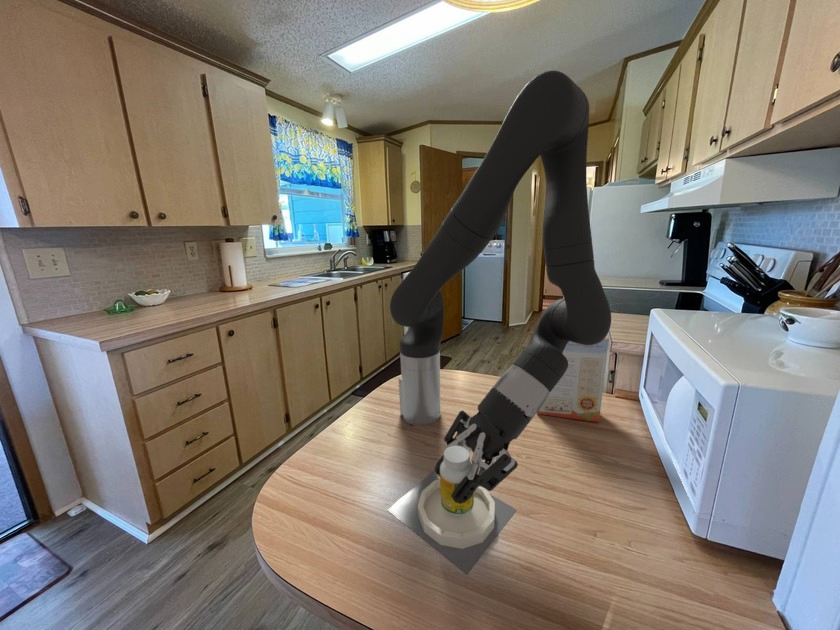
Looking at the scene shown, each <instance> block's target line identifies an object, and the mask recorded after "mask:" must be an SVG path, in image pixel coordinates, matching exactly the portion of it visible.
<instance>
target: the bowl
mask: <svg viewBox="0 0 840 630" xmlns="http://www.w3.org/2000/svg"><path fill="white" fill-rule="evenodd" d="M490 494H491V493H489V491H488V490H486V489H485V488H483V487H481V486H479V487H477V489H476V490H475V491H474V505H473V509H472V510H471V512H470V513H468V514H467V515H465V516H460V517H458V516H452V515H450V514H448V513H446V512H445V511H444V509H443V508H442V506H441V493H440V479H438V480H434V481H433V482H432V483H431V484H430V485H429V486H427V487H426V488H425V489H424V490H423V491H422V493H421V497H420V500H419V504H418V516H419V519H420V522H421V525H422V527H423V530H424V532H425V533H426V534H427V535H429V536H430V537H431V538H432V539H434V540H435V541H436V542H438V543H439V544H440V545H444V546H449V547H455V548H460V549H464V548H467V547H470V546H473V545H476V544H479V543H482V542H483V541H484V540H485V539H486V537H487V536H488V535H489V534H490V532H491V531H492V530H493V529H494V512H495V502H494V500H493V499H492V497H491V496H490Z"/></svg>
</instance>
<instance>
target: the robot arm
mask: <svg viewBox="0 0 840 630" xmlns="http://www.w3.org/2000/svg"><path fill="white" fill-rule="evenodd" d="M589 124H590V104H589V99H588V96H587V95H586V93H585V92H584V91H583V89H582V88H581V87H579V86H578V85H577V84H576V83H575V82H574V80H572V78H571V77H569V76H568V75H567V74H565V73H564V72H561V71H559V70H548V71H544V72H542V73H540V74H538V75H536V76H534V77H533V78H532V79H531V80H530V81H528V83H526V84H525V86H523V88H522V89H521V91H520V92H519V93H518V94H517V96H516V98H515V99H514V101H513V103H512V105H511V106H510V108H509V110H508V112H507V114H506V115H505V118H504V120H503V122H502V124H501V126H500V128H499V129H498V130H497V131H498V132H497V133H496V136H495V137H494V139H493V141H492V143H491V145H490V147H489V149H488V150H487V153H486V154H485V156H484V158H483V159H482V161H481V162H480V164H479V166H478V167H477V169H476V170H475V172H474V174H473V175H472V176H471V178H470V180H469V181H468V183H467V185H466V186H465V188H464V190H463V191H462V193H461V194H460V196H459V197H458V199H457V200H456V202H454V204H453V206H452V207H451V209H450V210H449V211H448V213H447V214H446V216H445V218H444V219H443V221H442V223H441V225H440V227H439V228H438V229H437V232H436V233H435V234H434V236H433V237H432V239H431V241H430V242H429V243H428V245H427V247H426V248H425V249H424V251H423V253H422V255H421V256H420V258H419V259H418V261H417V262H416V264H414V266H413V267H412V269H410V271H409V273H408V274H407V275H406V276H405V278H404V279H403V280H402V281H401V282H400V283H399V284H398V286H397V287H396V288H395V290H394V291H393V293H392V295H391V299H390V302H389V310H390V315H391V317H392V319H393V321H394V322H395V323H396V324H398V325H399V326H402V327H405V328H406V327H407V328H408V330H407V331H406V333H405V334H404V335H403V336H402V337H401V339H400V341H399V355H400V358H399V359H400V374H401V376H400V377H401V378H399V379H398V392H399V394H398V395H399V412H400V413H399V414H400V415H401V416H402V418H403V420H404V421H405V422H406V423H407V424H409V425H412V426H415V425H416V426H417V425H419V426H425V425H431V424H433V423H435V422H437V420H439V418H441V354H440V353H441V351H440V349H441V348H440V347H441V342H442V341H443V337H444V322H445V321H444V318H445V305H444V303H445V301H444V297H443V293H442V291H441V289H442V288H443V286H444V285H446V284H447V283H448V282H449V281H451V280H452V279H453V278H454V277H456V276H457V275H458V274H459V273H461V272H462V271H463V270H464V269H465V268H466V269H467V267H468V266H469V265H471V264H472V262H474V261H475V260H476V259H477V257H479V256H480V255H481V254H482V253H483V251H484V250H485V249H486V247H487V246H488V244H489V243H491V241H492V240H493V238H494V237H495V235H496V234H497V233H498V231H499V230H500V228H501V226H502V224H503V222H504V221H505V219H506V215H507V212H508V209H509V206H510V202H511V200H512V198H513V195H514V193H515V190H516V188H517V186H518V185H519V183H520V181H521V180H522V178H523V177H524V175H525V174H526V173H527V172H528V170H529V169H530V168H531V167H532V165H533V164H534V163H535V161H536V160H537V159H538V158H539V157H540V159H541V162H542V166H543V172H544V179H545V201H544V210H543V211H544V212H543V220H542V245H543V247H542V248H543V255H544V262H545V263H544V264H545V270H546V276H547V279H548V281H549V283H551V284H552V285H554V286H556V287H558V288H559V289H560V291H561V292H562V296H563V297H562V298H559V299H556V300H555V301H554V302H552V303H551V304H550V305H548V306H547V308H546V309H545V310H544V311H543V313H542V314H541V315H540V318H539V319H538V321H537V324H536V326H535V327H534V330H533V332H532V335H531V337H530V340H529V342H528V344H527V346H526V347H525V348H524V349H523V350H522V352H521V353H520V355H518V357H516V359H515V361H514V362H513V363H512V365H510V367H509V368H508V369H507V370H506V371H505V372H503V373H502V375H501V376H500V377H499V378H498V380H496V382H495V383H494V385H493V386H492V387H491V388H490V390H489V391H488V392H487V394H486V395H485V396H484V397H483V398H482V400H481V401H480V403H479V404H478V406H477V410H478V412H477V413H476V414H474V415H470V414H468V413H467V412H465V411H464V410H460V411H459V412H458V414H457V415H456V416H455V419H454V421H453V423H452V424H451V426H450V428H449V430H448V431H447V432H446V434H445V436H444V438H443V441H444V442H445V443H446V449H447V448H448V447H451V446H461V447H464V448H466V449H467V450H468V451H469V453H470V452H472V457H471V458H470V462H471V463H472V465H471V468H470V471H469V473H468V477H466V476H465V477H464V479H463V480H462V481H461V482H460V484H459V485H458V486H457V488H456V489H455V490H454V492H453V493H452V494H451V497H452V499H453V500H454V501H456V502H457V503H459V504H461V503H465V502H466V501H467V500H468V499H469V498H470V496H471V495H472V494H473V492H474V491H475V490H476V489H477V487H479V486H481V487H483V488H485V489H486V490H487V491H488V492H491V491H493V490H494V489H495V488H496V487H497V486H499V484H500V483H502V482H503V480H505V479H506V478H507V477H508V476H510V474H511V473H512V472H514V471H515V470H516V469H517V468H518V461H516V460H515V459H514V458H513V457H512V456H511V454H510V453H509V451H508V449H509V447H510V446H509V445H510V444H511V442H512V441H514V440H517V439H518V438H519V436H521V434H522V432H524V430H525V429H526V428H527V426H528V425H529V423H530V422H531V421H532V420H533V419H534V417H535V416H536V415H537V412H538V410H539V409H540V408H541V406H542V405H543V403H544V402H545V400H546V398H547V396H548V395H549V393H550V392H551V391H552V389H553V388H554V387H555V385H556V384H557V383H558V382H559V380H560V379H561V378H562V376H563V375H564V374H565V372H566V370H567V368H568V360H567V358H566V357H565V356H564V355H563V354H562V353H563V351H564V349H565V347H566V345H567V343H568V342H569V341H571V342H575V343H578V344H582V345H594V344H597V343H599V342H601V341H602V340H603V339H604V338H605V337H606V336H607V337H608V334H609V333H610V329H611V325H612V312H611V307H610V304H609V300H608V298H607V295H606V293H605V290H604V288H603V285H602V283H601V280H600V278H599V275H598V273H597V271H596V268H595V258H594V256H595V255H594V246H593V238H592V237H593V236H592V228H591V220H590V209H589V201H588V199H589V198H588V185H587V164H588V163H587V162H588V161H587V159H588V157H587V156H588V155H587V153H588V141H589V128H590V126H589ZM443 459H444V454H443V455H442V456H441V458H439V460H438V461H437V462H436V465H435V467H434V470H435V472H436V473H437V474H438V475H440V465H441V463H442V462H443V461H444V460H443ZM434 470H433V471H434Z"/></svg>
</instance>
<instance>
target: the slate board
mask: <svg viewBox="0 0 840 630" xmlns="http://www.w3.org/2000/svg"><path fill="white" fill-rule="evenodd" d="M438 479H440V475H438V474H437V473H436V472H435V470H433V471H432V472H430V473H429V474H428V475H427V476H426V477H425V478H424V479H422V480H421V481H420V482H419V483H417V484H416V485H415V486H414V487H413V488H411V489H410V490H409V491H408V492H407V493H405V494H404V495H403V496H402V497H400V498H399V499H398V500H397V501H396V502H395V503H393V504H392V505H391V506H389V508H388V509H386V511H387V512H388V513H390V514H391V515H392V516H393V517H395V518H396V519H397V520H398V521H400V522H401V523H402V524H404V525H405V526H406V527H407V528H408V529H409V530H410V531H412V532H413V533H415V535H417V536H418V537H419V538H421V539H422V540H423V541H424V542H426V543H427V544H428V545H429V546H431V547H432V548H433V549H435V551H437V552H438V553H440V555H442V556H443V557H444V558H445V559H447V560H448V561H449V562H450V563H451V564H453V565H454V566H455V567H456V568H458V569H459V570H460V571H462V572H463V573H464V574H465V575H468V574H469V573H470V572H471V570H472V569H473V568H474V567H475V565H476V564H477V562H479V560H480V558H481V557H482V556H483V554H484V553H485V552H486V551H487V549H488V548H489V547H490V545H491V544H492V543H493V542H494V540H495V539H496V538H497V536H498V535H499V534H500V533H501V532H502V530H503V528H504V527H505V526H506V524H507V523H508V522H509V521H510V519H512V517H513V515H514V514H515V513H516V512H517V508H514V507H513V506H511V505H509V504H507V502H504V501H502V500H501V499H499V498H497V497H496V496H494V495H492V494H491V493H489V494H490V496H491V497H492V499H493V500H494V502H495V512H494V529H493V530H492V531H491V532H490V534H489V535H488V536H487V537H486V539H485V540H484V541H483V542H482V543H479V544H476V545H473V546H470V547H467V548H464V549H460V548H455V547H449V546H444V545H440V544H439V543H438V542H436V541H435V540H434V539H432V538H431V537H430V536H429V535H427V534H426V533H425V532H424V530H423V527H422V525H421V522H420V519H419V516H418V504H419V500H420V497H421V493H422V491H423V490H424V489H425V488H426V487H427V486H429V485H430V484H431V483H432V482H433V481H434V480H438Z"/></svg>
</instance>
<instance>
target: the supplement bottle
mask: <svg viewBox="0 0 840 630" xmlns="http://www.w3.org/2000/svg"><path fill="white" fill-rule="evenodd" d="M443 455H444V459H443V460H444V461H443V462H442V463H441V465H440V493H441V506H442V508H443V509H444V511H445V512H446V513H448V514H450V515H452V516H458V517H460V516H465V515H467V514H468V513H470V512H471V510H472V509H473V505H474V492H473V494H472V495H471V496H470V498H469V499H468V500H467V501H466V502H465V503H461V504H459V503H457V502H456V501H454V500H453V499H452V497H451V494H452V493H453V492H454V490H455V489H456V488H457V486H458V485H459V484H460V482H461V481H462V480H463V479H464V477H465V476H466V477H468V473H469V471H470V468H471V465H472V461H471V455H470V452H469V451H468V450H467V449H466V448H464V447H461V446H451V447H448V448H447V447H446V448H445V450H443Z"/></svg>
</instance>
